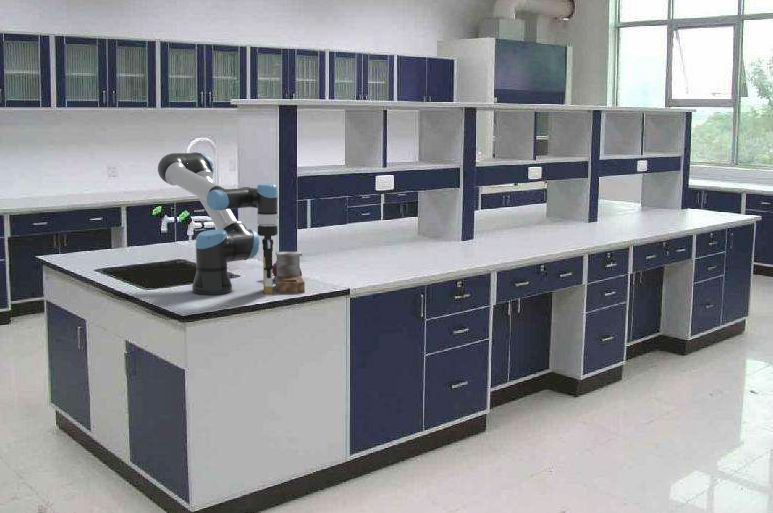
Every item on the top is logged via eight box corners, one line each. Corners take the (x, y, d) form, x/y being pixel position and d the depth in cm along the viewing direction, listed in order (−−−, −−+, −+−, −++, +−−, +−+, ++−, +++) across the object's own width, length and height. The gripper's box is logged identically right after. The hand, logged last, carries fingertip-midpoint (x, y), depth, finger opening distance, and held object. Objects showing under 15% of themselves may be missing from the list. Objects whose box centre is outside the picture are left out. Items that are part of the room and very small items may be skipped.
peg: (263, 293, 322) (263, 258, 320) (263, 292, 325) (263, 256, 323) (272, 293, 323) (272, 257, 320) (272, 291, 326) (271, 256, 324)
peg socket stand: (278, 293, 324) (278, 257, 321) (275, 285, 337) (275, 251, 335) (304, 292, 326) (304, 257, 324) (300, 285, 339) (300, 251, 337)
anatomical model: (301, 275, 357) (266, 270, 356) (304, 256, 353) (269, 250, 352) (299, 288, 346) (263, 282, 345) (302, 268, 342) (265, 262, 341)
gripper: (279, 228, 311) (279, 289, 315) (275, 221, 329) (275, 279, 333) (259, 228, 310) (259, 289, 314) (256, 221, 328) (256, 280, 332)
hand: (267, 284), depth 323 cm, fingers open, 6 cm apart
